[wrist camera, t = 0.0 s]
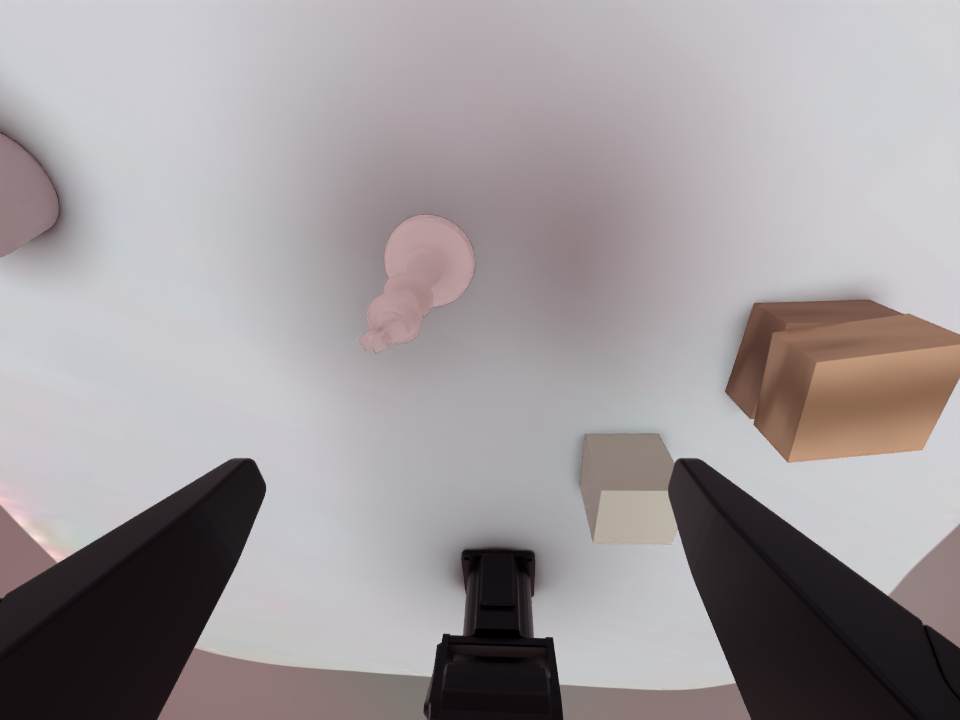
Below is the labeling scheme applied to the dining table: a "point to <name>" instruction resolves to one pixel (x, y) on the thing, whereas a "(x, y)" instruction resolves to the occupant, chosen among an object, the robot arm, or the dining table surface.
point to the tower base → (783, 318)
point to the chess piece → (418, 278)
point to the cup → (23, 197)
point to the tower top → (856, 387)
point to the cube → (627, 489)
